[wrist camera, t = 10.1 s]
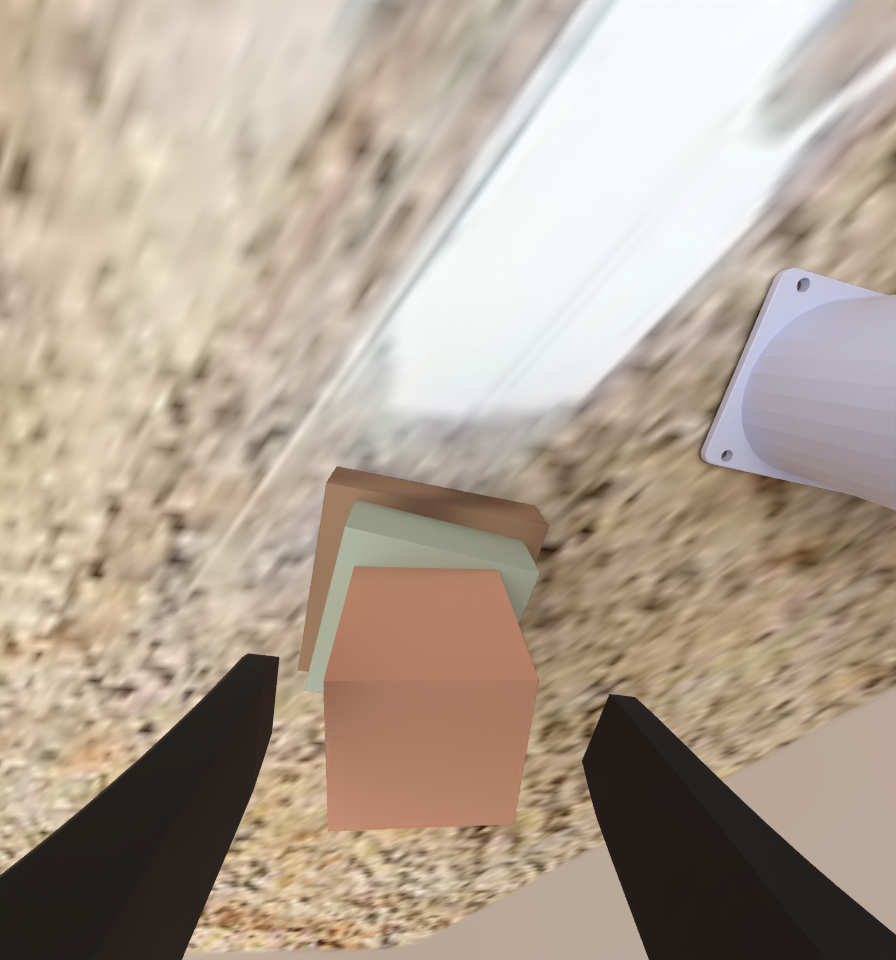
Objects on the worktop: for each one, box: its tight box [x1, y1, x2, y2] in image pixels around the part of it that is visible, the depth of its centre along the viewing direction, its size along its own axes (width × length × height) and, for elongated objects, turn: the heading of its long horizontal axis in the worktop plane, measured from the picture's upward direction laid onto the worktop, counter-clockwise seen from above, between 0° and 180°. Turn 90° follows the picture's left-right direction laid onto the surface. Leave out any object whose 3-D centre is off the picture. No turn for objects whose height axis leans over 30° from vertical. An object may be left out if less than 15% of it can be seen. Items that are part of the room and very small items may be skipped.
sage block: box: [304, 499, 540, 693], centre depth 16 cm, size 7×7×2 cm
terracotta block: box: [323, 567, 539, 831], centre depth 13 cm, size 5×5×5 cm
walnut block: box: [298, 467, 549, 672], centre depth 19 cm, size 9×9×2 cm
